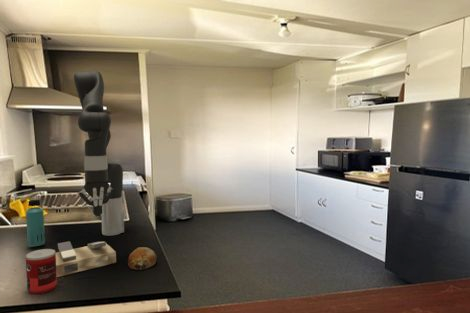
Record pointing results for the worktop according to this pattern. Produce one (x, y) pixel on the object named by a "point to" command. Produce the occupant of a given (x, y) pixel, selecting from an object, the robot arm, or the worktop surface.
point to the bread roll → (141, 258)
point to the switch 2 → (96, 245)
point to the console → (85, 260)
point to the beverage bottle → (35, 224)
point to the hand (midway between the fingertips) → (97, 215)
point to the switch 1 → (66, 251)
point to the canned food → (41, 271)
